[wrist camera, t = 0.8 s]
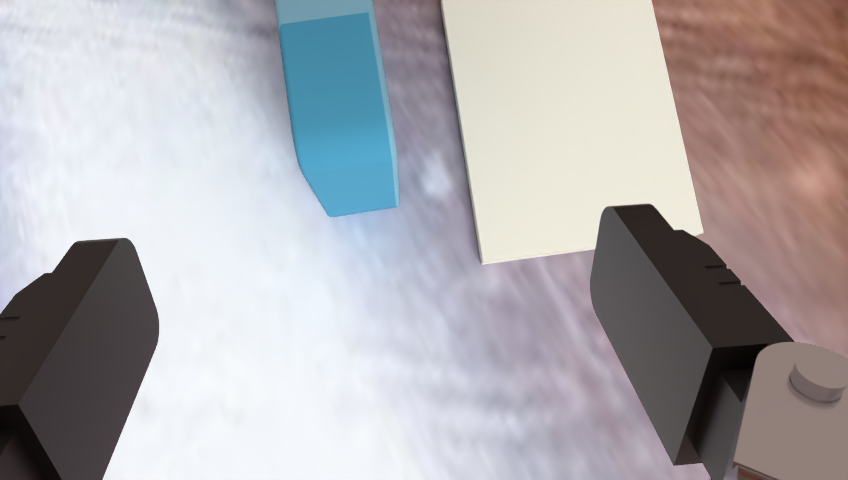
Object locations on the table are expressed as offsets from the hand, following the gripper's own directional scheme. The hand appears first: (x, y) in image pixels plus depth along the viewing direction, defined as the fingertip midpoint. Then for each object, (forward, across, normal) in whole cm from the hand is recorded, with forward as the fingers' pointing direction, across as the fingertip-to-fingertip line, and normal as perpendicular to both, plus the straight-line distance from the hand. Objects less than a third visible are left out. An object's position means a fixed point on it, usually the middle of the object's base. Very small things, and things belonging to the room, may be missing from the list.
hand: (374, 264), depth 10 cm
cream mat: (+28, -13, +9) cm, 32 cm away
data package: (+28, +1, +9) cm, 30 cm away
